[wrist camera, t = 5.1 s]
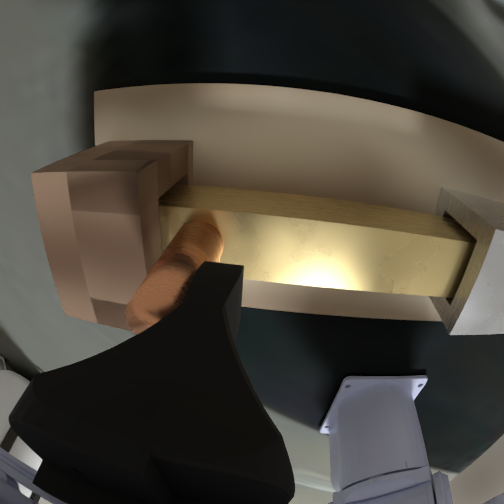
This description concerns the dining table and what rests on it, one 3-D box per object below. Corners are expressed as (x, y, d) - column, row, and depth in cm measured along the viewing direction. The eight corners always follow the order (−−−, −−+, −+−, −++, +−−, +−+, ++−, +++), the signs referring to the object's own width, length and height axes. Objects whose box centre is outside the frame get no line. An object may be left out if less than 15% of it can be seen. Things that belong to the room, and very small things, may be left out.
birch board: (517, 317, 19) (520, 321, 18) (117, 282, 20) (114, 287, 20) (571, 176, 12) (575, 179, 12) (99, 90, 14) (94, 91, 14)
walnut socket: (193, 260, 18) (156, 335, 12) (119, 251, 18) (65, 314, 13) (193, 140, 15) (137, 171, 9) (109, 141, 15) (30, 173, 9)
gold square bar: (462, 269, 15) (527, 366, 8) (135, 234, 16) (53, 330, 9) (478, 224, 14) (562, 310, 7) (130, 182, 15) (28, 259, 8)
